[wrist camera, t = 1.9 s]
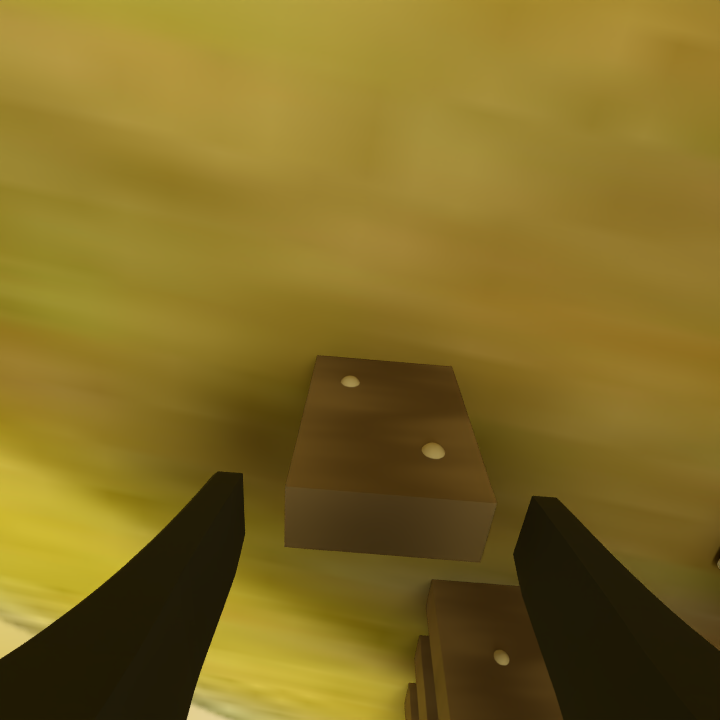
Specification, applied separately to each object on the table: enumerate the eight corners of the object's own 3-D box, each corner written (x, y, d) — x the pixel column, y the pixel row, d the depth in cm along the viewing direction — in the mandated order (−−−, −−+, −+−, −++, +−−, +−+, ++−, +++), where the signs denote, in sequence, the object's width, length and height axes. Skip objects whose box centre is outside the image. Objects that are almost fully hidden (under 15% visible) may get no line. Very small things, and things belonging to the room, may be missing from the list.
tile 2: (535, 584, 22) (599, 762, 16) (524, 614, 23) (580, 792, 17) (432, 576, 22) (456, 752, 16) (426, 606, 23) (445, 782, 17)
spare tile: (452, 361, 17) (499, 496, 11) (442, 411, 18) (480, 562, 12) (317, 350, 17) (285, 479, 11) (315, 401, 18) (284, 546, 12)
